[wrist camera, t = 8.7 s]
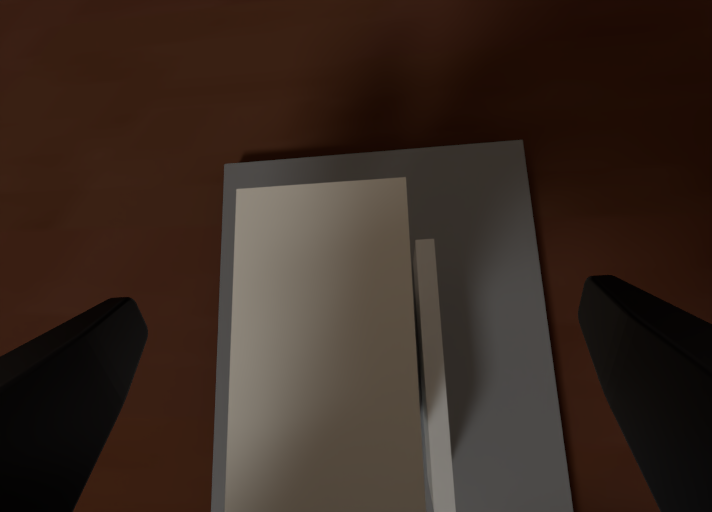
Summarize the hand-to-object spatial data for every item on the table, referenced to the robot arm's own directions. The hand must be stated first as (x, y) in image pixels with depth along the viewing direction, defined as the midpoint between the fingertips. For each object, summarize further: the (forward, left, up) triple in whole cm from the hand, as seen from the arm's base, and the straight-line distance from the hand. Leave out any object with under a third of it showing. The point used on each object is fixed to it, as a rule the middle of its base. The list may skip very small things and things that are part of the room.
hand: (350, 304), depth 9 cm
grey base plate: (-1, 0, -10) cm, 10 cm away
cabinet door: (-1, 0, -9) cm, 9 cm away
